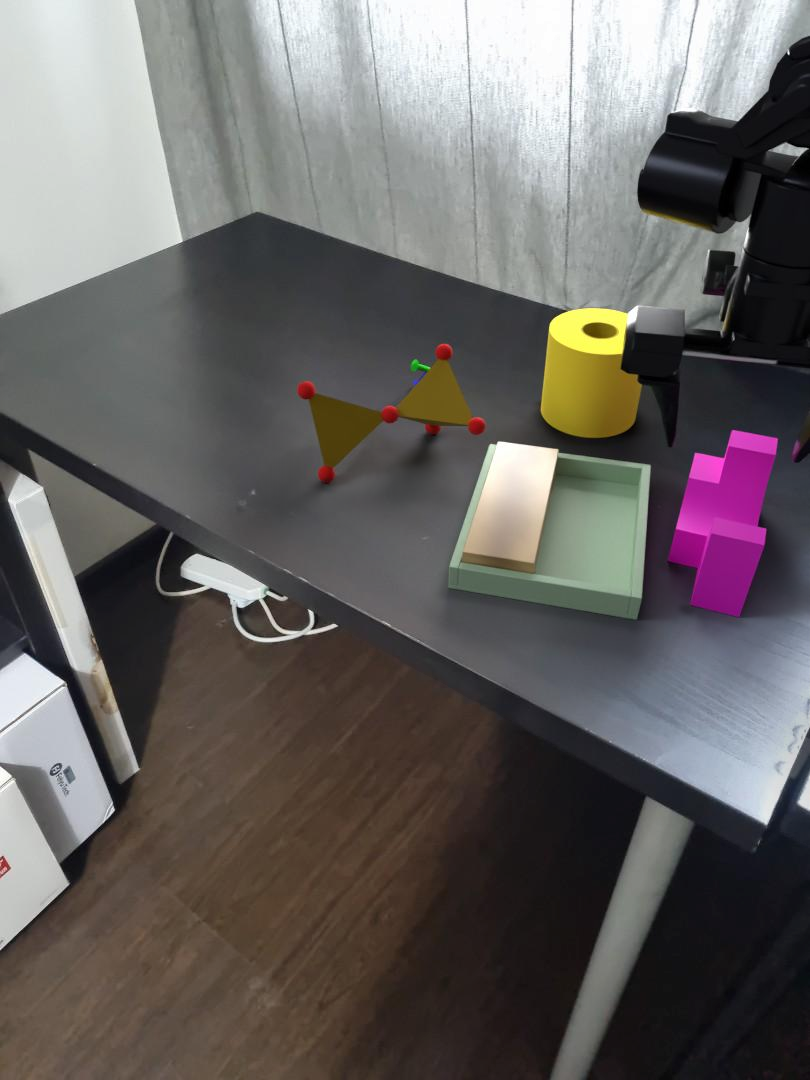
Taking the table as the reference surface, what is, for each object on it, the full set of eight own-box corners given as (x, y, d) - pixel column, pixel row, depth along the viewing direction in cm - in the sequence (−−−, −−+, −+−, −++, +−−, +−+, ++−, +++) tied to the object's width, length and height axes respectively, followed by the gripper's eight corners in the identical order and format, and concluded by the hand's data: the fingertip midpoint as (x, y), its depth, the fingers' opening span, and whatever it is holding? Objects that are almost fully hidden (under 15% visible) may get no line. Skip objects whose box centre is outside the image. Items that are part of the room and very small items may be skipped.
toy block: (685, 492, 77) (702, 424, 73) (755, 507, 76) (777, 438, 71) (658, 596, 67) (676, 525, 62) (739, 617, 65) (764, 545, 60)
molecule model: (273, 402, 89) (273, 312, 79) (430, 381, 94) (447, 294, 84) (311, 518, 80) (317, 433, 70) (481, 488, 85) (508, 405, 76)
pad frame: (646, 485, 78) (650, 464, 77) (636, 620, 65) (642, 598, 63) (488, 463, 81) (489, 443, 80) (448, 588, 68) (448, 566, 67)
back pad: (555, 475, 79) (559, 449, 77) (531, 590, 67) (534, 563, 65) (496, 466, 80) (497, 441, 78) (461, 579, 68) (462, 551, 66)
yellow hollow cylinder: (650, 432, 85) (667, 349, 79) (556, 442, 84) (566, 358, 78) (616, 384, 93) (629, 304, 87) (529, 392, 92) (537, 312, 85)
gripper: (921, 218, 57) (846, 411, 67) (645, 200, 61) (614, 386, 71) (960, 283, 49) (869, 492, 59) (639, 257, 53) (605, 458, 63)
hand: (731, 451), depth 63 cm, fingers open, 9 cm apart
